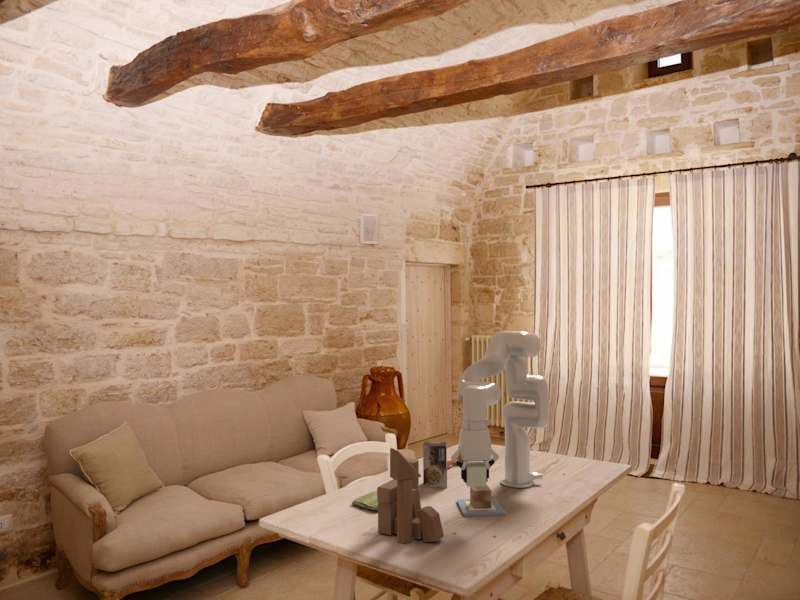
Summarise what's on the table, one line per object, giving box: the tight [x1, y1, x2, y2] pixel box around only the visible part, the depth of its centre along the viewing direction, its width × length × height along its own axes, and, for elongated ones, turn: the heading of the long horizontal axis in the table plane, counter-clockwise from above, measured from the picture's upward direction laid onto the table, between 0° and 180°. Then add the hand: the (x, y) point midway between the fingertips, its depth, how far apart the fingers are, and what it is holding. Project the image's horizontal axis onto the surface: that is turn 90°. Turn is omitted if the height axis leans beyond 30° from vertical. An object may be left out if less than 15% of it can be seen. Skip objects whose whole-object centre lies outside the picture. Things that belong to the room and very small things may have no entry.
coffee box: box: [422, 441, 448, 489], centre depth 244 cm, size 9×6×16 cm
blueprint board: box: [456, 497, 506, 517], centre depth 218 cm, size 14×14×1 cm
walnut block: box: [469, 484, 492, 509], centre depth 218 cm, size 6×6×6 cm
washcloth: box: [351, 489, 378, 512], centre depth 224 cm, size 13×18×3 cm
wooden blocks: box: [376, 447, 445, 544], centre depth 196 cm, size 24×20×28 cm
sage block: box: [465, 461, 487, 488], centre depth 203 cm, size 6×6×6 cm
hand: (475, 480), depth 203 cm, fingers closed on sage block, 6 cm apart
